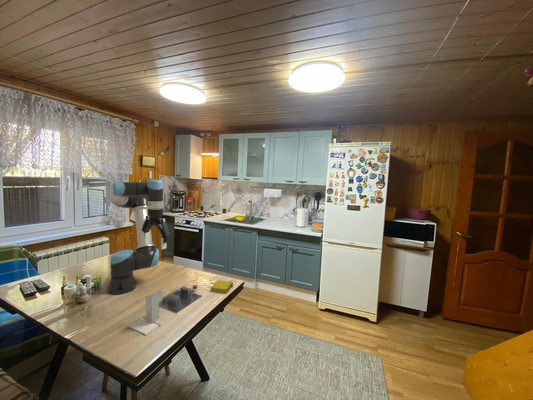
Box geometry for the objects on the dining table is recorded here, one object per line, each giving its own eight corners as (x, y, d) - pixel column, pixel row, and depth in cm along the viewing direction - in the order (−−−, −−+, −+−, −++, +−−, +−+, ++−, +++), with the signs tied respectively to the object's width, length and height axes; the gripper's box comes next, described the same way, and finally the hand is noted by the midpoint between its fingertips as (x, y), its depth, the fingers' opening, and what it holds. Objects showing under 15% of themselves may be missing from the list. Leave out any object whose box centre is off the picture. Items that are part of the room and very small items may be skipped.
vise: (154, 306, 123) (154, 296, 122) (186, 288, 144) (186, 279, 143) (176, 315, 116) (176, 304, 115) (206, 295, 137) (206, 285, 136)
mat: (128, 326, 106) (128, 325, 106) (158, 309, 120) (158, 308, 120) (146, 335, 101) (146, 334, 101) (174, 316, 115) (174, 315, 115)
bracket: (214, 272, 153) (235, 275, 150) (213, 283, 153) (234, 286, 150) (202, 282, 138) (226, 285, 135) (202, 294, 138) (225, 298, 135)
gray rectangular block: (146, 321, 109) (145, 296, 108) (158, 313, 116) (158, 290, 115) (151, 323, 108) (151, 298, 107) (164, 315, 114) (163, 292, 113)
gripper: (134, 206, 125) (134, 243, 127) (165, 212, 114) (165, 252, 116) (146, 205, 132) (146, 240, 134) (177, 210, 121) (177, 248, 123)
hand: (155, 246), depth 125 cm, fingers open, 13 cm apart
